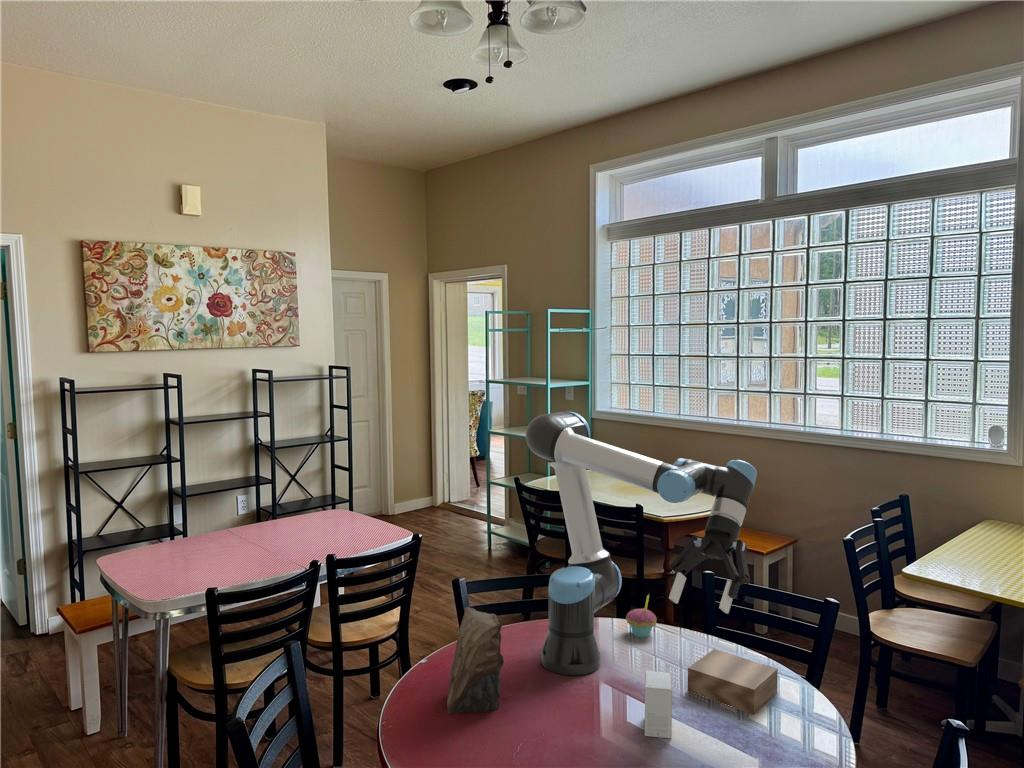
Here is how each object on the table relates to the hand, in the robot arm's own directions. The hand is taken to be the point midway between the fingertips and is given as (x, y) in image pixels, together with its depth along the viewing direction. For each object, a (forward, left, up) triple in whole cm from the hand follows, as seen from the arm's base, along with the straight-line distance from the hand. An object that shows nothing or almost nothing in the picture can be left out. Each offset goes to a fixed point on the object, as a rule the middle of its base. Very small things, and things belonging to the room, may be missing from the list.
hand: (697, 605), depth 154 cm
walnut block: (+3, +13, -24) cm, 28 cm away
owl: (-41, -31, -24) cm, 56 cm away
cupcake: (-30, +29, -24) cm, 48 cm away
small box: (-3, -13, -24) cm, 27 cm away
